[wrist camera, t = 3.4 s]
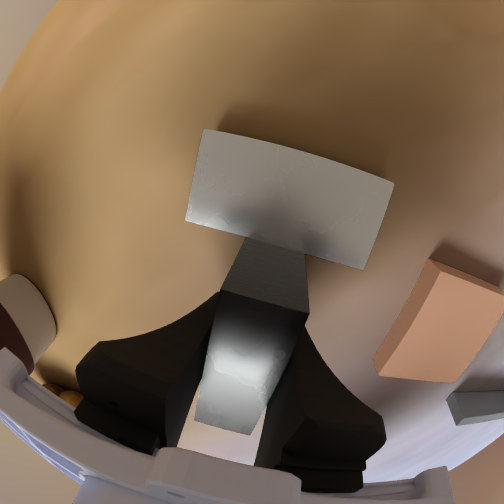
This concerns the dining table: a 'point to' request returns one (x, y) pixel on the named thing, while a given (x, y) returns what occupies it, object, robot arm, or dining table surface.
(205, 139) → the turner
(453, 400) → the frame
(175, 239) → the dining table surface
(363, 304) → the dining table surface
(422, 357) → the tile
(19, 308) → the coffee cup
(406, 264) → the dining table surface
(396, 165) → the dining table surface
